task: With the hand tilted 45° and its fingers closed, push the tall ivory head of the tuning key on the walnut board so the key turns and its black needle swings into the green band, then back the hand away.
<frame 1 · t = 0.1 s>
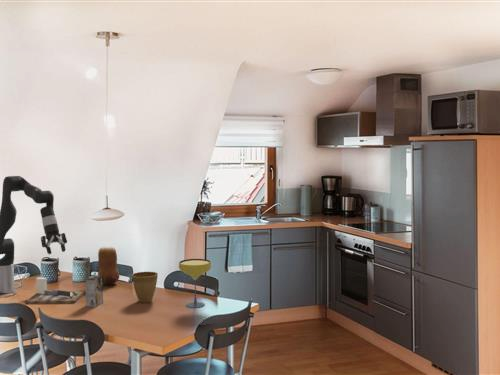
hand: (56, 252, 304), 31 cm above the table, tool tilted 20°, fingers open, 8 cm apart
coffee box: (94, 304, 313), on the table
cocktail glass: (195, 305, 311), on the table
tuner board: (56, 298, 325), on the table
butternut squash: (108, 284, 358), on the table
plant pot: (145, 301, 320), on the table
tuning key: (53, 287, 325), point 7 cm above the table, hinge at 0.0°
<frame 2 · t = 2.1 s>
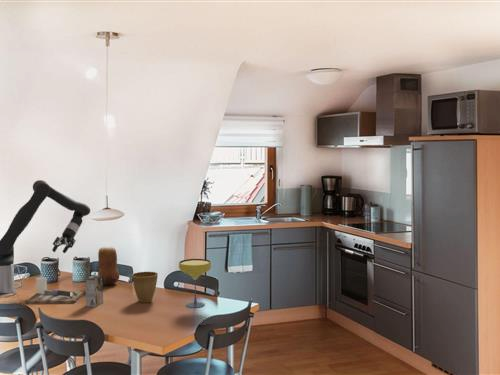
hand: (58, 251, 342), 25 cm above the table, tool tilted 45°, fingers open, 8 cm apart
nothing on the table moved.
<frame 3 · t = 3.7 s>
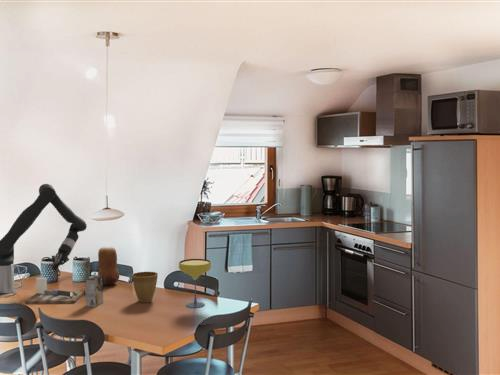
hand: (53, 269, 338), 14 cm above the table, tool tilted 45°, fingers closed
nothing on the table moved.
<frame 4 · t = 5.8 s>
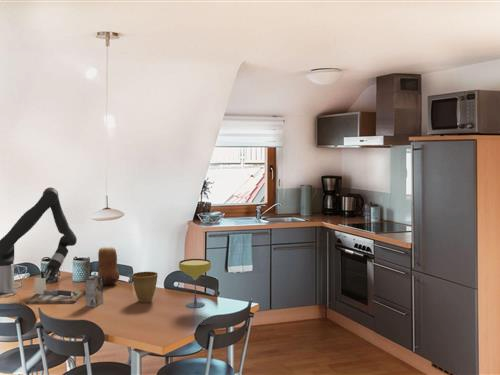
hand: (42, 286, 330), 6 cm above the table, tool tilted 45°, fingers closed
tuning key: (53, 287, 325), point 7 cm above the table, hinge at 5.4°, touching gripper
everything else where it was.
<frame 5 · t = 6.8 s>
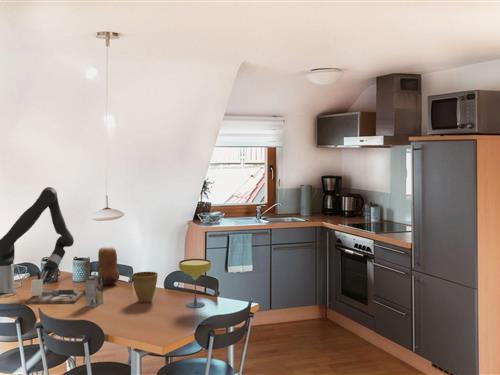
hand: (39, 287, 326), 6 cm above the table, tool tilted 45°, fingers closed
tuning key: (52, 287, 325), point 7 cm above the table, hinge at 24.1°, touching gripper
everything else where it was.
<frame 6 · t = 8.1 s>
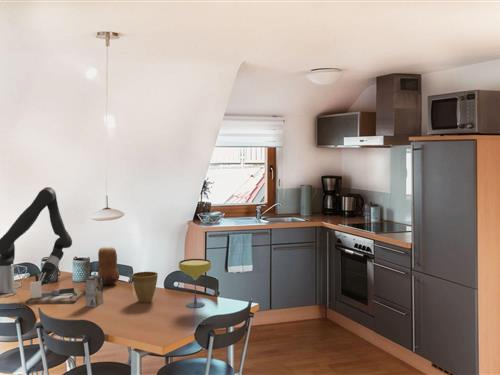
hand: (36, 289, 322), 6 cm above the table, tool tilted 45°, fingers closed
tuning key: (52, 287, 324), point 7 cm above the table, hinge at 49.1°, touching gripper
everything else where it was.
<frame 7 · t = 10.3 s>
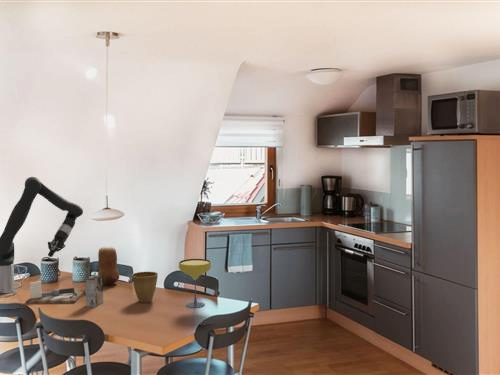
hand: (49, 256, 333), 24 cm above the table, tool tilted 45°, fingers closed
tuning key: (52, 287, 324), point 7 cm above the table, hinge at 49.1°
everything else where it was.
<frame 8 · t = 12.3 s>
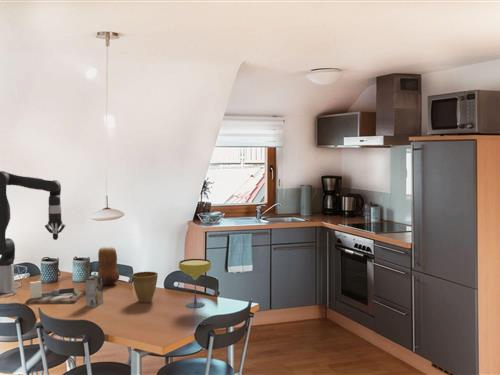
hand: (55, 239, 343), 32 cm above the table, tool pointing down, fingers closed
nothing on the table moved.
at the end: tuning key at +49° (first picture: +0°); the gripper is holding nothing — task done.
